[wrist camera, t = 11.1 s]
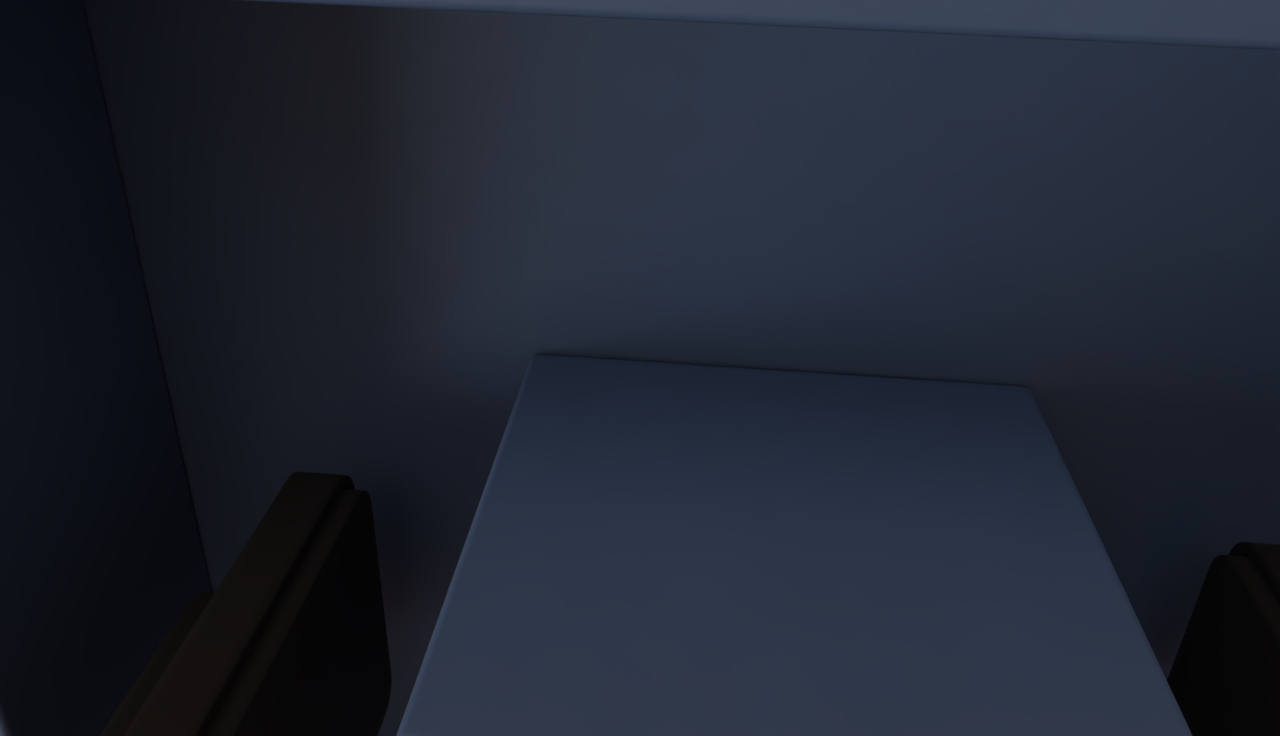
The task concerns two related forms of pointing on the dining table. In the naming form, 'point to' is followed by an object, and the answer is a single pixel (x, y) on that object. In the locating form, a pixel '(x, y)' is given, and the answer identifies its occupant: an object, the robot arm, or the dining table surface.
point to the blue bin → (598, 266)
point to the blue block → (782, 567)
